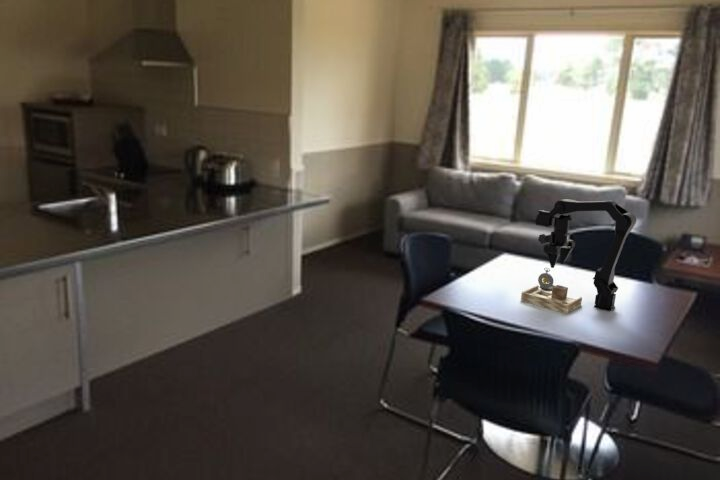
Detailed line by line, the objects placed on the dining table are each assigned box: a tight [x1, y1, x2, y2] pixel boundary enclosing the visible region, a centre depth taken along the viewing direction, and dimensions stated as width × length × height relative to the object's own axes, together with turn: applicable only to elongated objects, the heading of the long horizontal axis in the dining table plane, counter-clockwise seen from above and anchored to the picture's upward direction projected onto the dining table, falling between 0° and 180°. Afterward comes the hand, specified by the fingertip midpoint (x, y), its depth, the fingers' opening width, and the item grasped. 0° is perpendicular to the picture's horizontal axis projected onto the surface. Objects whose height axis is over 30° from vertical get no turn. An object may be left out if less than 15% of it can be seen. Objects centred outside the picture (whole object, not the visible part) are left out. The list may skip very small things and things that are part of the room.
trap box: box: [520, 284, 583, 314], centre depth 247 cm, size 20×14×4 cm
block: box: [551, 284, 569, 300], centre depth 248 cm, size 4×4×4 cm
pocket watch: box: [537, 267, 555, 291], centre depth 264 cm, size 8×8×10 cm
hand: (557, 265), depth 255 cm, fingers open, 9 cm apart
